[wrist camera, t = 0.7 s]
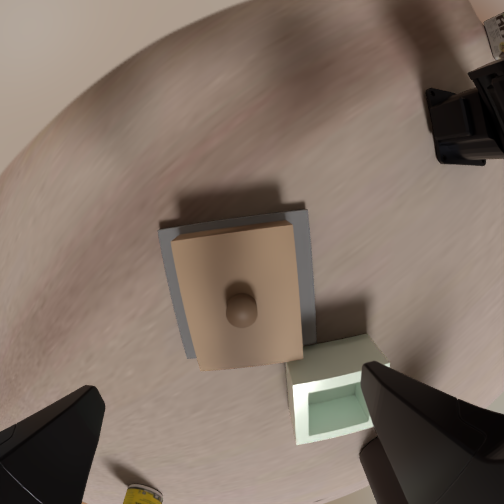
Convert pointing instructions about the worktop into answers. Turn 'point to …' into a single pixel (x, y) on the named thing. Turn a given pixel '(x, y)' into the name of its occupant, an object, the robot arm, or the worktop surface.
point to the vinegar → (381, 474)
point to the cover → (241, 294)
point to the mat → (294, 217)
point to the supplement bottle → (142, 495)
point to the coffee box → (496, 35)
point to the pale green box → (330, 388)
